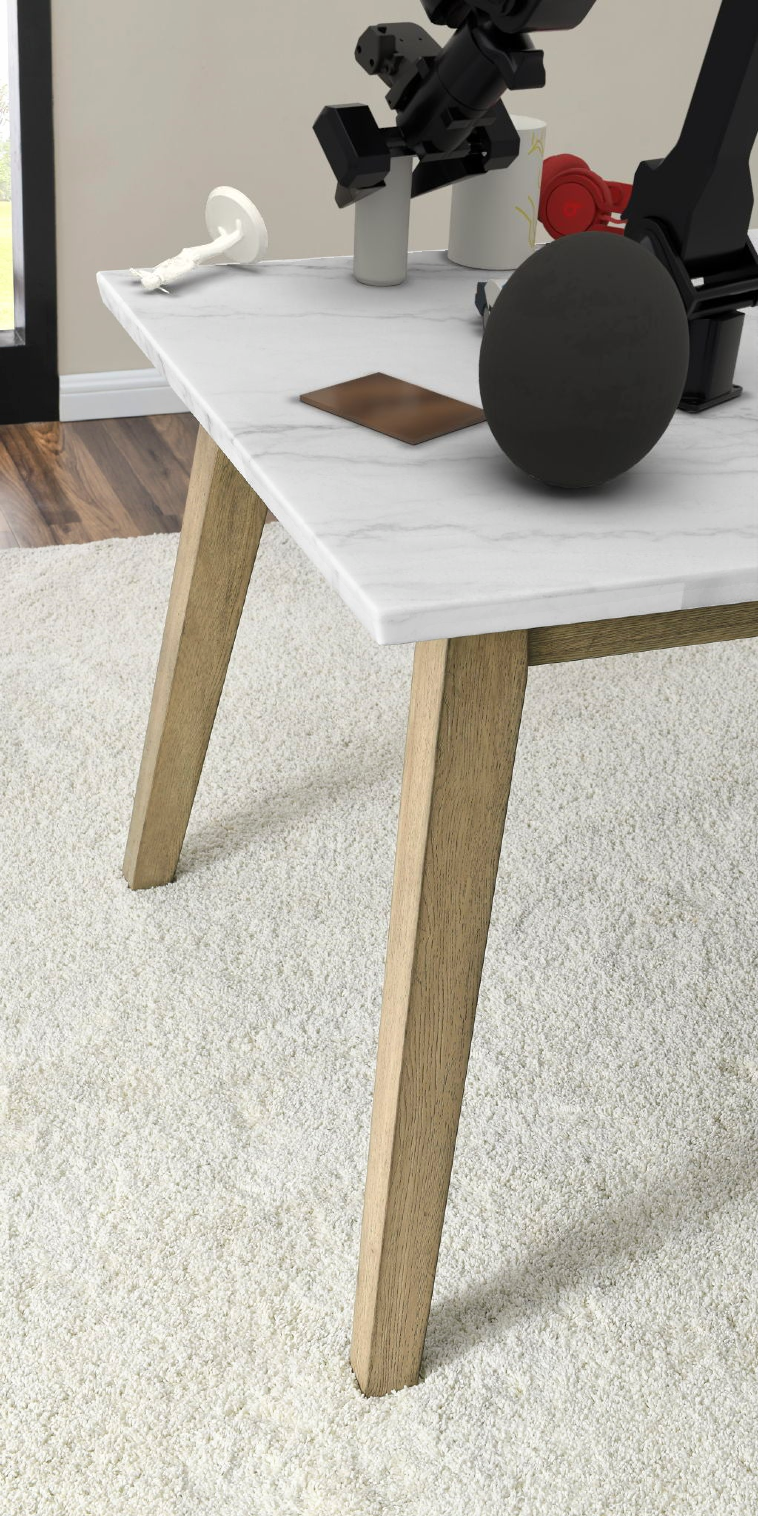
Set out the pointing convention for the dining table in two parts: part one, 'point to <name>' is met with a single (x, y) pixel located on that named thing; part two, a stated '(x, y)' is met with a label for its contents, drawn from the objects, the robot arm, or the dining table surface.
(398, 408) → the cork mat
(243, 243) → the figurine
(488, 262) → the cup
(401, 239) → the beverage can
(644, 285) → the decorative egg
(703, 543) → the dining table surface
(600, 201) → the headphones
